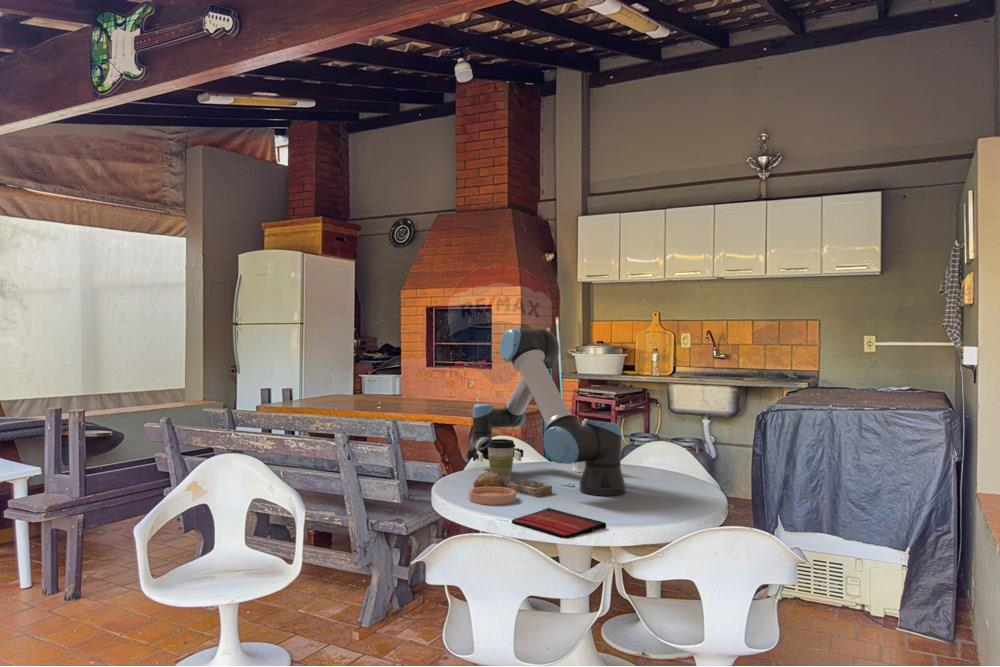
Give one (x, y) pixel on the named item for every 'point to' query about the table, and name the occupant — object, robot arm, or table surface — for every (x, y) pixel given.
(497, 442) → the coffee cup
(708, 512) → the table surface
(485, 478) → the bread roll
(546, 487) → the pebble tray
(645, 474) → the table surface
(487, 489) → the dish
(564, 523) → the binder
